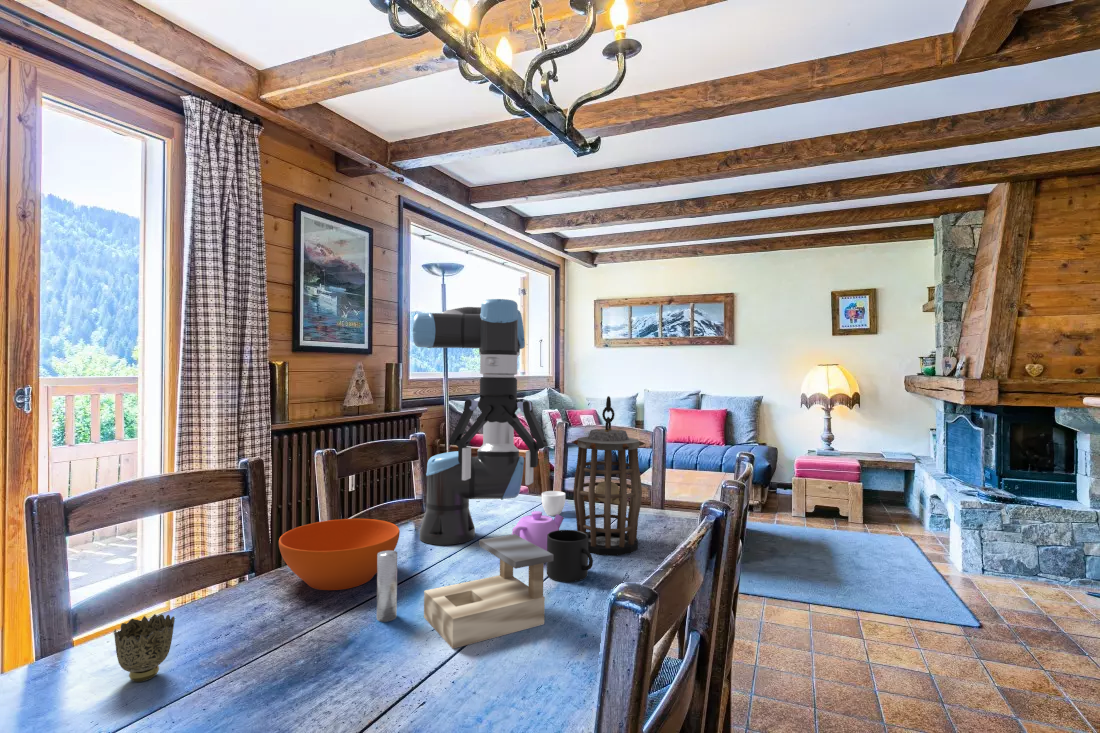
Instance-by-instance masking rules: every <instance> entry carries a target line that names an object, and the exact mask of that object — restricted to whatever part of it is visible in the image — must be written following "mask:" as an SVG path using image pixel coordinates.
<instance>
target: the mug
mask: <svg viewBox="0 0 1100 733" xmlns="http://www.w3.org/2000/svg"><path fill="white" fill-rule="evenodd" d="M547 551H548V552H550V553H551V554H553V555H554V556H553V561H551V562H546V575H547V577H548V578H550V579H551V580H554V581H557V582H563V583H572V582H573V583H575V582H580V581H583V580H585V579H587V577H588V575H589V570H591V568H592V567H593V564H594V558H593V556H592V553H590V552H589V551H588V535H587V534H586V533H584V532H581V531H577V529H576V530H575V529H559V530H557V531H553V532H550V533H549V534H548V535H547Z"/></svg>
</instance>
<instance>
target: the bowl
mask: <svg viewBox="0 0 1100 733" xmlns="http://www.w3.org/2000/svg"><path fill="white" fill-rule="evenodd" d="M400 532H401V531H400V528H399V526H397V525H396V524H394V523H392V522H389V521H386V520H380V519H372V518H341V519H330V520H322V521H316V522H312V523H308V524H307V523H306V524H303V525H301V526H297V527H294V528H292V529H290V530H288V531H286V532H284V533H283V534H281V536H280V537H279V538H278V539H279V540H278V548H279V552H280V554H281V557H282V559H283V560H284V563H286V565H287V567H288V568H289V569H290V570H291V572H293V573H294V575H296V576H297V577H298V578H299V579H301V580H302V581H303V582H304V583H305V584H307V586H309V587H310V588H312V589H315V590H321V591H339V590H341V591H342V590H348V589H352V588H356V587H359V586H361V585H364V584H366V583H368V582H370V581H371V580H372V579H373V577H374V576H375V575H377V554H378V553H379V552H382V551H387V550H392V551H396V548H397V545H398V543H399V540H400V539H399V538H400V535H401V533H400Z"/></svg>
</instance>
